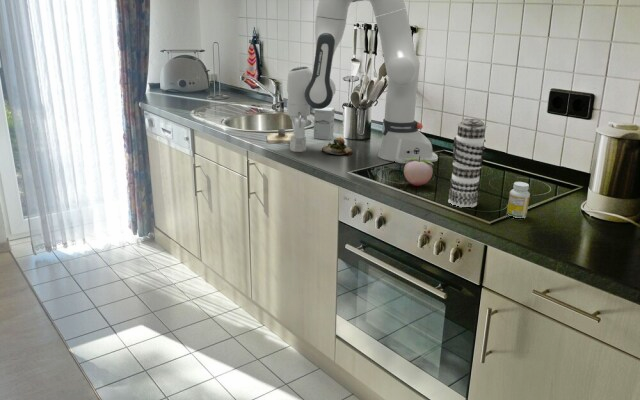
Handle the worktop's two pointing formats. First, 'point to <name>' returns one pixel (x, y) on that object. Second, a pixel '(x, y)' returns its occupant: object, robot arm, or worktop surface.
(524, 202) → the supplement bottle
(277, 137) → the stud board
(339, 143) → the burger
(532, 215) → the worktop surface
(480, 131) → the decorative candle
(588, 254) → the worktop surface
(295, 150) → the cap
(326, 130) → the supplement box
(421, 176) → the decorative fruit
